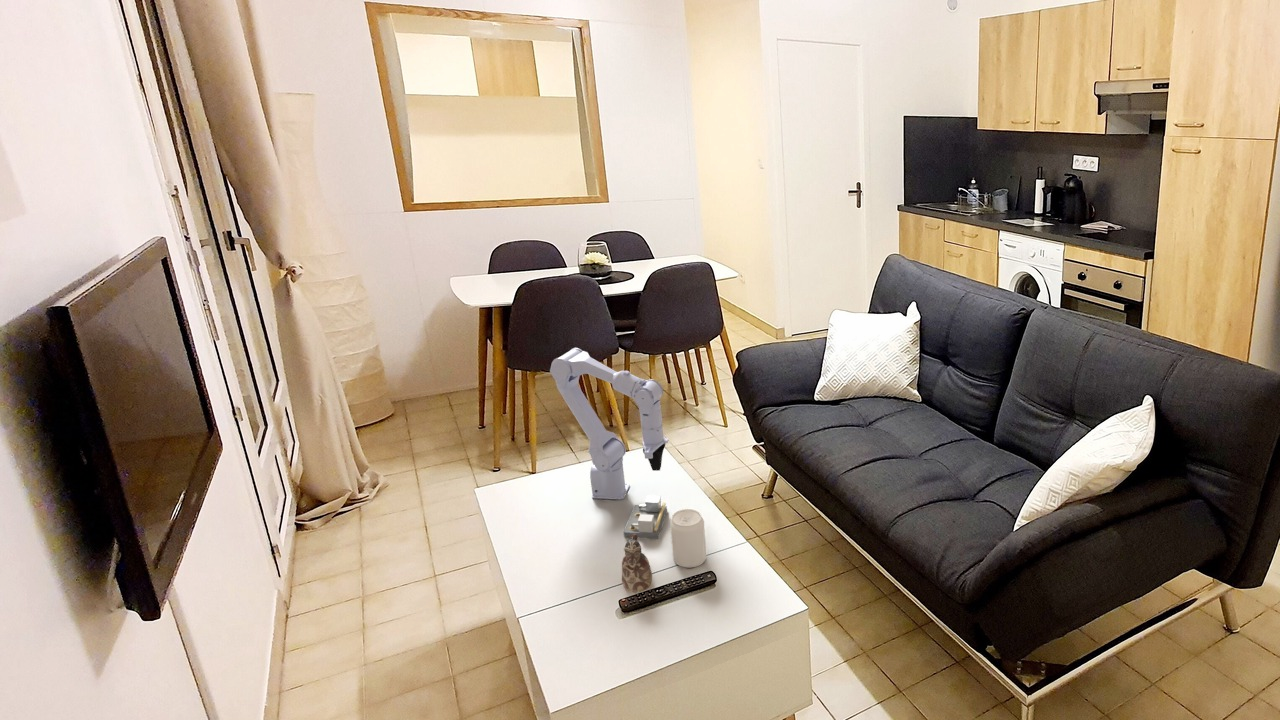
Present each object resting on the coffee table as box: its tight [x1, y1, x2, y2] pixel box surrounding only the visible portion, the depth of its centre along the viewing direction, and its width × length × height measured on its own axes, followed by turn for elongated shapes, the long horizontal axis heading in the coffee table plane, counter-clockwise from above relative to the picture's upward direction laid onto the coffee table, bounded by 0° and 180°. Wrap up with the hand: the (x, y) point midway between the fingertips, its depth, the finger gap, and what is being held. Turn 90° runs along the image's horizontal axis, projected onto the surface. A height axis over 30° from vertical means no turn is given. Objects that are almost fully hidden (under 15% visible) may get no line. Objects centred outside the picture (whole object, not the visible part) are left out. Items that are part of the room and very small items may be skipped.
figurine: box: [621, 534, 653, 594], centre depth 162 cm, size 7×7×12 cm
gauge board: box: [623, 502, 668, 540], centre depth 185 cm, size 9×13×5 cm
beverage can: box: [669, 508, 707, 568], centre depth 168 cm, size 8×8×12 cm
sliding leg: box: [638, 495, 662, 512], centre depth 189 cm, size 6×3×3 cm, turn 77°
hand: (656, 469), depth 192 cm, fingers closed
